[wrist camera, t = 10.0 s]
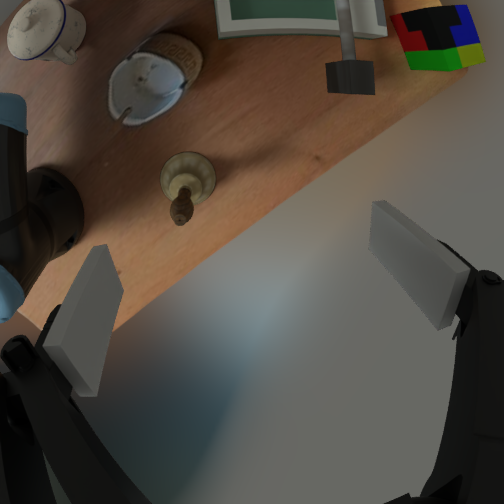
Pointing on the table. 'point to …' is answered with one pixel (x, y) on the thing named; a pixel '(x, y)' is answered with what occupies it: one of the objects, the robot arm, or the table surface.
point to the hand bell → (186, 183)
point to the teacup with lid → (46, 32)
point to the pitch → (297, 18)
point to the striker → (349, 61)
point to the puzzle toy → (439, 38)
